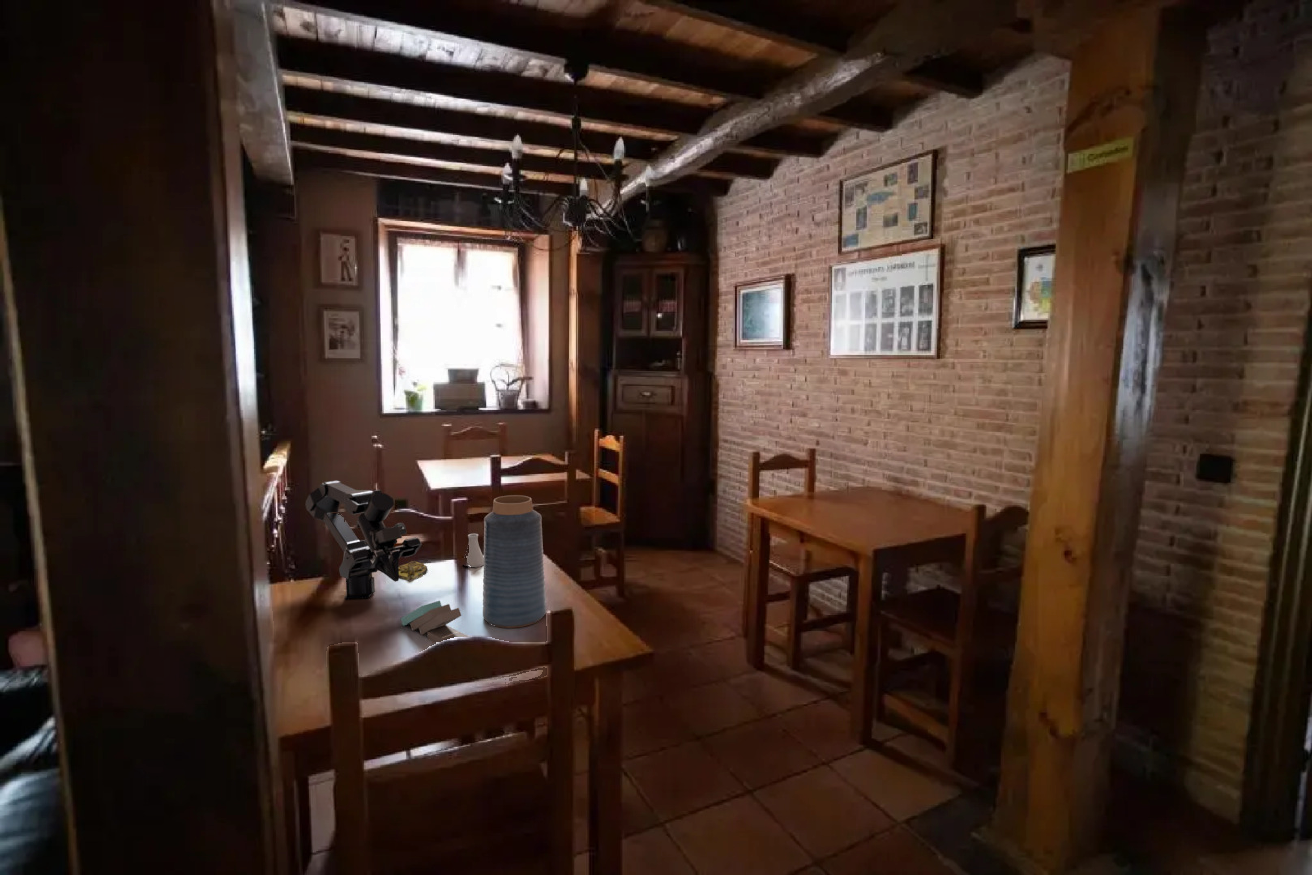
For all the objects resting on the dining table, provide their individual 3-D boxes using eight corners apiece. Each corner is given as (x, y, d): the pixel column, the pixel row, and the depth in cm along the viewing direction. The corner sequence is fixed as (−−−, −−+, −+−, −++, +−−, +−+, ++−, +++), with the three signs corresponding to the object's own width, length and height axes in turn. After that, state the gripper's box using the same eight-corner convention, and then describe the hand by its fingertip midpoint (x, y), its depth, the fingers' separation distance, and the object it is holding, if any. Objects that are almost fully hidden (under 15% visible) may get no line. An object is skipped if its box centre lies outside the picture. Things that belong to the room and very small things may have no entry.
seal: (396, 570, 211) (396, 585, 197) (394, 556, 210) (394, 570, 196) (426, 563, 214) (428, 578, 200) (424, 550, 213) (426, 563, 199)
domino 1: (409, 622, 163) (430, 609, 156) (428, 616, 167) (449, 603, 160) (412, 630, 163) (433, 618, 155) (430, 624, 167) (451, 611, 159)
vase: (479, 608, 177) (476, 494, 173) (539, 601, 183) (538, 490, 179) (486, 633, 162) (483, 509, 158) (551, 624, 168) (550, 504, 164)
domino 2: (418, 626, 161) (439, 613, 153) (436, 620, 165) (458, 607, 157) (421, 635, 160) (442, 622, 153) (439, 628, 164) (461, 615, 157)
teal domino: (400, 618, 166) (421, 606, 159) (418, 612, 170) (439, 600, 162) (403, 626, 166) (423, 614, 158) (421, 620, 169) (442, 608, 162)
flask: (489, 562, 215) (489, 533, 214) (476, 569, 208) (476, 539, 207) (471, 560, 217) (470, 530, 216) (457, 566, 211) (456, 536, 209)
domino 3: (427, 631, 158) (455, 645, 151) (445, 624, 162) (473, 638, 154) (427, 639, 159) (455, 654, 151) (446, 632, 162) (474, 646, 155)
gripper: (349, 521, 165) (372, 573, 159) (417, 508, 179) (440, 556, 174) (336, 544, 171) (358, 596, 165) (402, 530, 185) (425, 577, 180)
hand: (397, 580), depth 171 cm, fingers closed
